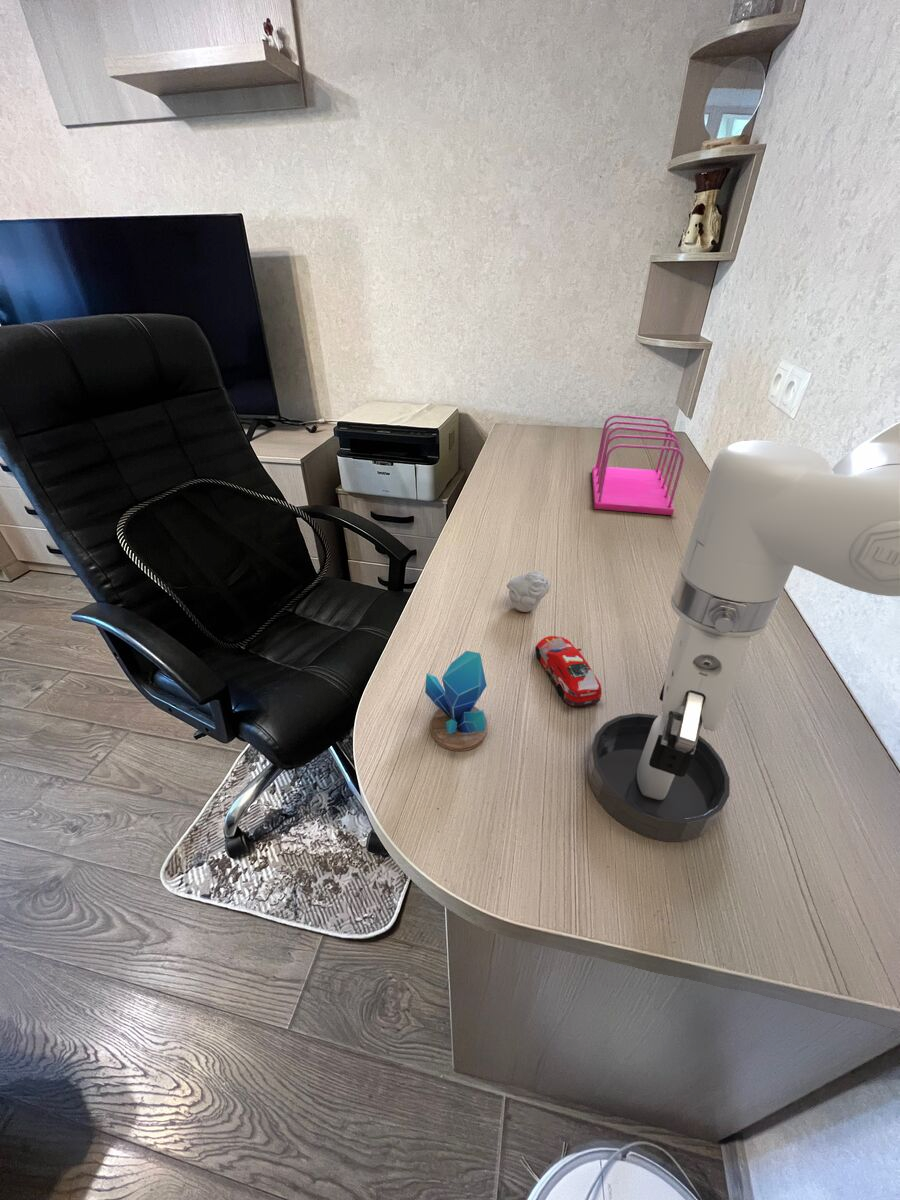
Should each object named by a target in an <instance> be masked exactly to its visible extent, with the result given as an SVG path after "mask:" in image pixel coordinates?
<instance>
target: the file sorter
mask: <svg viewBox="0 0 900 1200" xmlns="http://www.w3.org/2000/svg"><path fill="white" fill-rule="evenodd" d="M614 418H622V419H633V420H634V419H635V420H646V421H657V422H663V424H657V423H648V422H647V423H646V422H637V421H636V422H634V421H621V420H616V421H612V422H611V423H609V421H611V420H612V419H614ZM608 423H609V424H608ZM618 424H619V425H631V426H641V427H643V426H644V427H652V428H661V429H662V428H663V429H666V430H658V429H649V428H640V427H630V426H615V427H614V428H612V429H611V430H609V429H610V428H611V427H612V426H613V425H618ZM618 430H623V431H624V430H626V431H636V432H645V433H653V434H662V435H665V436H651V435H650V436H649V435H633V434H631V435H630V434H615V435H613V436H611V435H612V434H613V433H614V432H616V431H618ZM608 431H609V432H608ZM615 439H637V440H638V439H640V440H655V441H663V444H662V446H658V445H642V444H625V443H624V444H622V443H621V444H620V443H619V444H615V445H613V446H611V448H609V445H610V443H611V442H612V441H613V440H615ZM667 442H668V444H667ZM672 442H673V443H674V446H673V447H672ZM666 445H667V446H666ZM618 448H627V449H629V448H630V449H643V450H644V449H646V450H661V451H660V454H659V459H658V462H657V466H656V469H645V468H629V467H617V466H608V463H609V457H610V454H611V453H612V452H613V451H614V450H615V449H618ZM608 449H609V450H608ZM665 451H666V452H665ZM670 451H672V452H671V456H670V459H669V462H668V465H667V469H666V472H665V475H664V478H663V474H664V470H665V467H666V463H667V460H668V456H669V452H670ZM664 452H665V453H664ZM664 454H665V455H664ZM663 456H664V459H662V458H663ZM679 456H680V461H679V466H678V469H677V473H676V477H675V480H674V484H673V487H672V491H671V495H670V488H671V486H672V481H673V478H674V474H675V470H676V466H677V463H678V459H679ZM662 460H663V462H662ZM684 461H685V457H684V454H683V452H682V451H681V445H680V443H679V440H678V437H677V435H676V434H675V433H674V432H673V430H672V429H671V426H670V424H669V422H668V421H667V420H666V419H664V418H658V417H649V416H648V417H646V416H636V415H626V414H613V415H611V416H609V417H608V418H607V419H606V420H605V422H604V424H603V428H602V434H601V438H600V443H599V447H598V453H597V459H596V465H592V469H591V476H592V494H593V509H595V510H604V511H616V512H617V511H618V512H619V511H620V512H629V513H640V514H655V515H665V516H673V515H674V511H675V507H674V505H673V501H674V498H675V494H676V490H677V487H678V483H679V479H680V476H681V473H682V468H683V466H684ZM661 462H662V463H661ZM661 464H662V465H661ZM660 466H661V470H660ZM671 467H672V468H671ZM670 471H671V472H670ZM669 474H670V476H669ZM668 477H669V479H668ZM667 480H668V483H667ZM666 483H667V486H666Z"/></svg>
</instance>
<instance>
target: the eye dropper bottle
mask: <svg viewBox="0 0 900 1200" xmlns="http://www.w3.org/2000/svg"><path fill="white" fill-rule="evenodd" d="M683 708H684V706H680V707H679V708H678V709H677V710H675V712H678V713H681V714H682V713H683ZM657 716H658V717H657V718H656V719H655V721H654V723H653V725H652V727H651V730H650V733H649V736H648V739H647V742H646V744H645V747H644V750H643V753H642V756H641V759H640V762H639V765H638V768H637V782H638V786H639V788H640V791H641V793H642V794H643V795H644V796H646V797H649V798H653V799H657V800H663V799H664V798H665V797H666V795H667V793H668V791H669V788H670V786H671V783H672V781H673V779H674V776H675V775H674V774H671V773H668V772H665V771H662V770H659V769H656V768H653V767H651V766H650V765H649V762H650V758H651V755H652V752H653V749H654V747H655V744H656V741H657V738H658V735H662V734H663V731H664V727H665V723H666V719H667V717H666V716H665V715H664V714H663V713H662V714H660V715H657ZM680 723H681V721H679V720H675V719H674V722H673V726H672V730H671V734H673V735H676V736H677V733H678V731H679V727H680Z"/></svg>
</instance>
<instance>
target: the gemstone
mask: <svg viewBox="0 0 900 1200" xmlns="http://www.w3.org/2000/svg"><path fill="white" fill-rule="evenodd" d="M425 676H426V677H425V688H424V689H425V690H424V693H425V694H426V695H427V697H428V698H429V699H430V700H431V702H433V704H434V705H435V706H436V707H438V709H436V710H435V712H434V713H433V715H432V716H431V719H430V722H429V723H430V724H429V725H430V726H429V727H430V728H429V729H430V734H431V737H432V738H433V740H434V741H435V742H436V743H437V744H438V745H439V746H441V747H442V748H445V749H447V750H450V751H454V752H455V751H457V752H463V751H468V750H472V749H474V748H476V747H478V746H480V745H481V744H482V742H483V741H484V740H485V738H486V737H487V734H488V727H489V726H488V720H487V717H486V715H485V712H484V709H479V708H478V707H476V704H477V702H478V701H479V699H480V697H481V696H482V694H483V693H484V691H485V690H486V688H487V685H488V684H487V681H486V680H487V679H486V676H485V671H484V666H483V660H482V655H481V652H476V651H471V650H465V651H464V652H463V653H461V654H460V655H459V656H457V658H455V659H454V660H453V661H451V663H450V665H449V666H448V668H447V669H446V671H445V672H444V674H443V675H442V677H441V681H442V684H441V682H440V681H439V679H438V677H437V676H436V675H432V674H430V673H426V675H425ZM442 685H443V686H442Z"/></svg>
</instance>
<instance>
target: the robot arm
mask: <svg viewBox="0 0 900 1200" xmlns="http://www.w3.org/2000/svg"><path fill="white" fill-rule="evenodd" d="M794 567H798V568H801V569H803V570H806V571H808V572H811V573H813V574H815V575H818V576H820V577H822V578H825V579H826V580H829V581H830V582H831V581H832V582H834V583H836V584H839V585H841V586H843V587H847V588H851V589H853V590H855V591H859V592H863V593H867V594H870V595H875V596H883V597H900V420H899V421H898V422H896V423H894V424H893V425H891V426H889V427H887V428H885V429H884V430H882V431H880V432H879V433H877V434H875V435H874V436H872V437H871V438H869V439H867V440H865V441H864V442H862V443H860V444H859V445H857V446H856V447H855V448H853V449H851V450H850V451H849V452H847V454H845V455H844V456H843V457H842V458H841V459H840V460H839V461H838V462H836V464H834V466H833V467H832V465H831V463H830V462H829V461H828V460H827V459H826V457H825V456H823V455H822V454H820V453H819V452H816V451H814V450H813V449H809V448H807V447H804V446H801V445H797V444H794V443H789V442H782V441H776V440H774V441H773V440H764V439H763V440H762V439H756V440H755V439H753V440H744V441H738V442H733V443H732V444H729V445H727V446H726V447H724V448H723V449H722V450H720V452H719V453H718V454H717V456H716V457H715V459H714V460H713V463H712V466H711V468H710V471H709V474H708V478H707V481H706V484H705V487H704V490H703V494H702V497H701V500H700V503H699V506H698V510H697V513H696V516H695V520H694V522H693V526H692V529H691V532H690V536H689V540H688V543H687V547H686V550H685V552H684V555H683V558H682V562H681V565H680V568H679V572H678V574H677V577H676V582H675V585H674V587H673V591H672V593H671V597H670V605H671V608H672V609H673V612H674V613H675V614H676V615H677V616H678V617H679V619H678V622H677V625H676V629H675V631H674V635H673V639H672V643H671V645H670V650H669V655H668V658H667V665H666V670H665V677H664V682H663V685H662V688H661V691H660V693H659V700H660V701H661V713H662V715H663V714H664V715H665V716H666V717H667V719H666V723H665V727H664V731H663V734H662V735H658V738H657V741H656V744H655V747H654V749H653V752H652V755H651V758H650V762H649V765H650V766H651V767H653V768H656V769H659V770H662V771H665V772H668V773H671V774H674V775H676V776H680V777H683V776H685V774H686V771H687V769H688V767H689V764H690V762H691V760H692V758H693V755H694V753H695V751H696V744H697V740H698V737H699V736H700V732H701V728H702V727H703V729H704V730H708V731H710V732H716V731H717V730H719V728H720V727H721V724H722V722H723V719H724V717H725V714H726V711H727V708H728V706H729V703H730V701H731V698H732V695H733V693H734V690H735V687H736V685H737V682H738V679H739V677H740V674H741V672H742V668H743V665H744V662H745V659H746V655H747V652H748V648H749V643H750V639H751V637H755V636H756V635H759V634H761V633H763V631H765V630H766V628H767V625H768V624H769V621H770V620H771V617H772V615H773V612H774V610H775V609H776V606H777V604H778V602H779V600H780V597H781V595H782V593H783V591H784V589H785V586H786V584H787V583H788V579H789V578H790V574H792V571H793V569H794ZM680 706H684V708H683V713H682V714H681V713H678V712H675V710H677V709H678V708H679V707H680ZM674 719H675V720H679V721H681V723H680V727H679V731H678V733H677V736H676V735H673V734H671V730H672V726H673V722H674Z"/></svg>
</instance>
